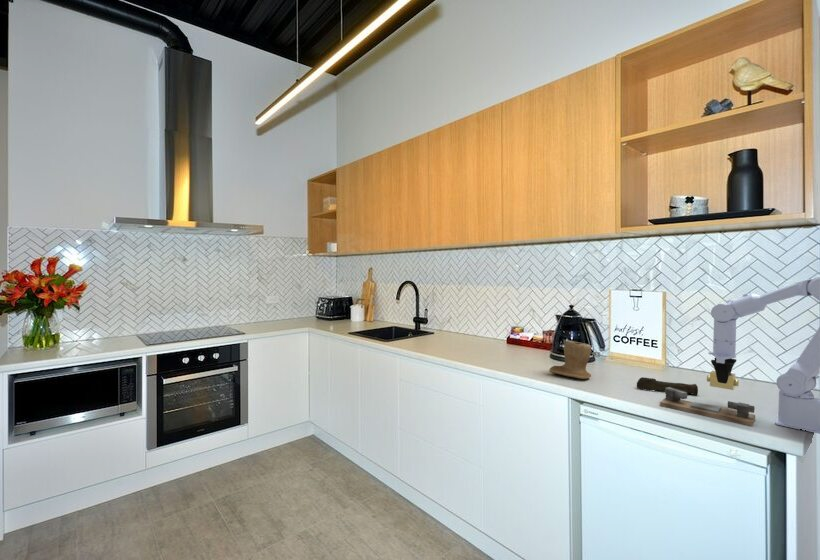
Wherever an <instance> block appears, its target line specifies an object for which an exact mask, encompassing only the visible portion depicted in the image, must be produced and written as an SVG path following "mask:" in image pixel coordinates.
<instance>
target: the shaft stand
mask: <svg viewBox="0 0 820 560" xmlns="http://www.w3.org/2000/svg"><path fill="white" fill-rule="evenodd" d="M664 392H665V397H664V398H663V399H662V400H661V401H659V406H660V405H661V406H660V407H664V406H665V407H666V408H669V409H673V410H678V411H683V412H688V413H692V414H697V415H699V416H700V415H701V416H706V417H710V418H714V419H719V420H722V421H727V422H732V423H737V424H742V425H746V426H751V427H753V425H754V423H755V421H756V414H755V408H756V407H755V405H751V404H749V403H744V402H736V401H735V402H734V401H727V408H724V407H721V406H718V405H717V406H716V405H712V404H707V403H702V402H697V401H690V400H689V401H688V400H687V399H688V394H687V392H684V391H681V390H678V389H674V388H671V387H668V388H665V391H664Z"/></svg>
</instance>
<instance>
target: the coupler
mask: <svg viewBox="0 0 820 560" xmlns="http://www.w3.org/2000/svg"><path fill="white" fill-rule="evenodd" d="M706 382H709V386H710V387H713V388H720V389H724V390H729V391H734V389H736V387H739V383H740V381H739V379H736V373H732V372H731V373H729V376H728V380H727V383H726V384H725V383H719V382H718V380H717V376H716V372H715V370H711V371H710V372H709V374H708V375H706Z"/></svg>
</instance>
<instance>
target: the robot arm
mask: <svg viewBox="0 0 820 560" xmlns="http://www.w3.org/2000/svg"><path fill="white" fill-rule="evenodd" d="M798 296H801V297H812V296H813V297H814V298H815V299H816V300H817V301H819V302H820V275H819V276H817V277H814V278H809V279H808V278H807V279H803V280H800V281H795V282H793V283H790V284H788V285H784V286H783V287H780V288H777V289H774V290H772V291H769V292H767V293H764V294H761V295H759V294H756V293H751V294H750V293H744V294H742V296H741V297H739V298H736V299H733V300H732V299H729V300H727V301H726V303H717V304H716V305H714V306H713V307H712V309H711V310H710V315H711V317H712V318H713V339H712V340H713V341H712V343H713V344H712V347H713V348H712V351H708V355H712V356H713V357H714V359H711V360H710V362H711V364H712V366H713V369H714V371H715V372H716V376H717V380H718V382H719V383H725V384H726V383H727V380H728V376H729V373H732V369H733V368H734V365H735V364H736V362H737V354H736V351H737V350H736V347H737V344H736V342H737V320H738V319H739V318H743V317H747V316H750V315H753V314H757V313H759V312H763V311H764V310H765V309H766V307H767V305H770V304H774V303H777V302H780V301H784V300H787V299H790V298H794V297H798ZM819 374H820V326H819V327H818V329H816V331H815V333H814V335H813V336H812V338H811V339H810V341H809V342H808V343H807V344H806V346H805V348H804V349H803V351H802V352H801V354H800V355H799V357H798V358H797V360H796V361H795V362H794V363H793V364H792V365H791V366H790V367H789V368H788V370H787V371H786V372H785V373H783V374H780V375H779V376H778V377H777V378H776V383H775V384H776V386H777V388H778V389H779V390H778V408H777V409H778V410H777V411H778V412H777V413H778V414H777V416H776V419H775V423H774V424H775V425H778V426H781V427H785V428H786V427H787V428H791V429H797V430H800V429H802V430H801V431H805V430H806V432H810V433H813V434H814V433H815V434H819V435H820V398H817V397H815V394H814V393H813V392H812V391H813V390H814V389H815V388H816V386H817V379H818V376H819Z"/></svg>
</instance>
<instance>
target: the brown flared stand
mask: <svg viewBox="0 0 820 560" xmlns="http://www.w3.org/2000/svg"><path fill="white" fill-rule="evenodd" d="M591 353H592V347H591V345H590V344H588V343H584V342H578V341H574V340H566V342H564V345H563V356H564V364H562V365H553V366H551V367H550V368H549V370H548V371H549V373H552V374H555V375H559V376H564V377H568V378H569V377H570V378H574V379H579V380H580V379H583V380H586V379H590V378H591V377H592V374H591V373H590V372H588V371H587V364H588V363H589V360H590V357H591Z"/></svg>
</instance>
